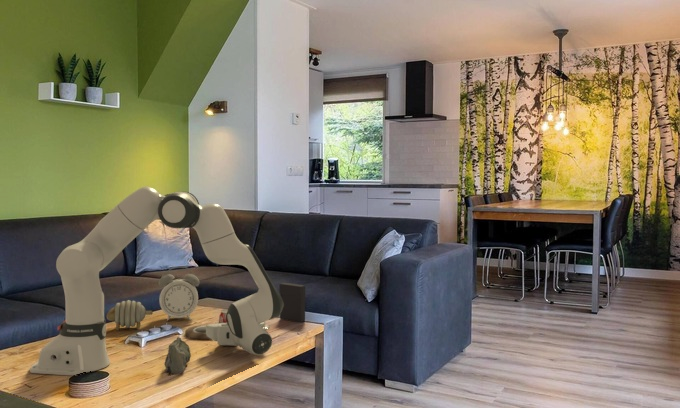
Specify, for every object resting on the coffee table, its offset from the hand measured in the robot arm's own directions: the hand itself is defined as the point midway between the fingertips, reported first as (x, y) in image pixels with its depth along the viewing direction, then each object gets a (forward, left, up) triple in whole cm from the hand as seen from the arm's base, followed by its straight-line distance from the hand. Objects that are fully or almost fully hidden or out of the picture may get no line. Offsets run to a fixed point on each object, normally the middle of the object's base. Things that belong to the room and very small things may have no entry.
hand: (228, 323), depth 208 cm
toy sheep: (-40, +21, -8) cm, 46 cm away
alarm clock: (-24, +36, -8) cm, 44 cm away
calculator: (+23, +34, -8) cm, 42 cm away
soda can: (0, -1, -7) cm, 8 cm away
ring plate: (-9, +13, -7) cm, 18 cm away
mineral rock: (-12, -25, -8) cm, 29 cm away
